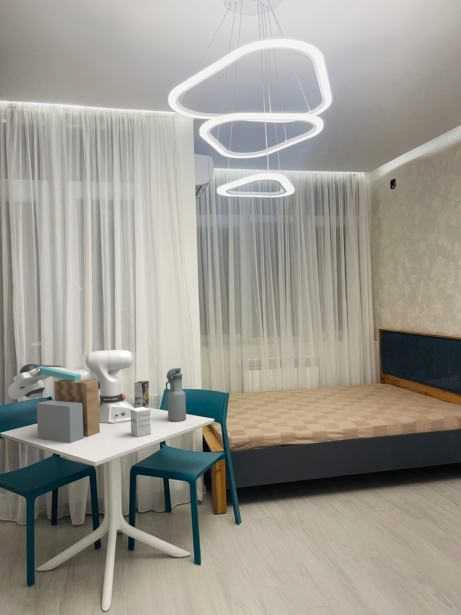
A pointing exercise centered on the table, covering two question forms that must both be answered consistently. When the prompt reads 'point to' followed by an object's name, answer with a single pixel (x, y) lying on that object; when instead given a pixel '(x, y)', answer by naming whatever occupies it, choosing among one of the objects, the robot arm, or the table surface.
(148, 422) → the supplement box
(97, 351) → the robot arm
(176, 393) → the water bottle
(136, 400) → the coffee box
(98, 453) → the table surface
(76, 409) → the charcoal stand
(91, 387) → the walnut stand
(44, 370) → the teal batten
